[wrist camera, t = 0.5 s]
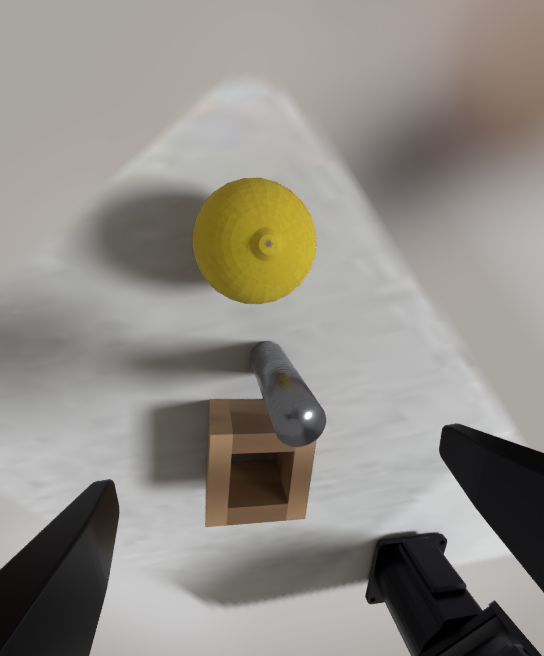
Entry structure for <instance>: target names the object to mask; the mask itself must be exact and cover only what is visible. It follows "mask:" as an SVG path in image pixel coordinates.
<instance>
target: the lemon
mask: <svg viewBox="0 0 544 656" xmlns="http://www.w3.org/2000/svg"><path fill="white" fill-rule="evenodd" d="M192 239H193V252H194V256H195V259H196V262H197V265H198V268H199V269H200V271H201V273H202V274H203V276H204V278H205V279H206V281H207V282H208V283H209V284H210V285H211V286H212V287H213V288H214V289H215V290H216V291H218V292H219V293H221V294H223V295H224V296H226V297H228V298H229V299H232V300H235V301H238V302H242V303H245V304H263V303H268V302H273V301H276V300H278V299H280V298H282V297H284V296H286V295H288V294H290V293H291V292H292V291H293V290H294V289H295V288H297V287H298V286H299V285H300V284H301V282H302V281H303V280H304V278H305V277H306V275H307V274H308V272H309V270H310V268H311V265H312V263H313V260H314V256H315V250H316V234H315V228H314V224H313V221H312V218H311V215H310V213H309V212H308V210H307V208H306V207H305V205H304V203H303V202H302V201H301V200H300V199H299V198H298V197H297V196H296V195H295V194H294V193H293V192H292V191H291V190H289V189H288V188H286V187H284V186H282V185H281V184H279V183H277V182H274V181H270V180H267V179H263V178H243V179H240V180H236V181H233V182H230V183H227V184H226V185H224V186H223V187H221V188H219V189H218V190H216V191H215V192H213V194H212V195H211V196H210V197H209V198H208V199H207V200H206V201H205V203H204V204H203V205H202V207H201V209H200V211H199V213H198V215H197V217H196V220H195V225H194V229H193V234H192Z"/></svg>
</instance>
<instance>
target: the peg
mask: <svg viewBox="0 0 544 656" xmlns="http://www.w3.org/2000/svg"><path fill="white" fill-rule="evenodd" d="M250 361H251V365H252V367H253V370H254V373H255V376H256V379H257V382H258V385H259V387H260V390H261V393H262V396H263V399H264V402H265V405H266V407H267V410H268V413H269V416H270V419H271V422H272V425H273V427H274V430H275V433H276V435H277V437H278V439H279V440H280V441H281V442H282V443H284V444H285V445H288V446H291V447H302V446H306V445H309V444H311V443H312V442H314V441H315V440H316V439H318V438H319V436H320V435H321V434H322V432H323V430H324V428H325V424H326V416H325V412H324V410H323V409H322V407H321V406H320V404H319V403H318V401H317V400H316V398H315V397H314V395H313V394H312V392H311V391H310V390H309V388H308V387H307V385H306V384H305V382H304V381H303V379H302V378H301V376H300V375H299V373H298V372H297V370H296V369H295V368H294V366H293V365H292V363H291V362H290V360H289V359H288V357H287V356H286V354H285V353H284V351H283V350H282V349H281V347H280V346H279V345H278V344H276V343H274V342H271V341H265V342H261V343H259V344H258V345H256V346H255V347H254V348H253V350H252V352H251V355H250Z"/></svg>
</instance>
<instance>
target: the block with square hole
mask: <svg viewBox="0 0 544 656" xmlns="http://www.w3.org/2000/svg"><path fill="white" fill-rule="evenodd" d="M316 440H317V439H316ZM316 440H315V441H314V442H312V443H311V444H309V445H306V446H302V447H291V446H288V445H285V444H284V443H282V442H281V441H280V440H279V439H278V437H277V435H276V433H275V430H274V427H273V425H272V422H271V419H270V416H269V413H268V410H267V407H266V405H265V402H264V400H210V409H209V429H208V448H207V467H206V520H205V527H213V526H225V525H237V524H250V523H262V522H274V521H286V520H298V519H305V516H306V509H307V502H308V495H309V488H310V481H311V474H312V467H313V460H314V453H315V447H316ZM266 452H276V456H275V461H255V462H232V463H231V455H232V454H239V453H266Z"/></svg>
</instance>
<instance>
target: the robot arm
mask: <svg viewBox="0 0 544 656" xmlns="http://www.w3.org/2000/svg"><path fill="white" fill-rule="evenodd" d="M439 452H440V456H441V458H442V459H443V461H444V462H445V464H446V465H447V467H448V468H449V470H450V471H451V473H452V474H453V476H454V477H455V479H456V480H457V481H458V483H459V484H460V486H461V487H462V489H463V490H464V492H465V493H466V495H467V496H468V498H469V499H470V501H471V502H472V503H473V505H474V506H475V508H476V509H477V510H478V511H479V513H480V514H481V515H482V517H483V518H484V519H485V520H486V522H487V523H488V524H489V525H490V527H491V528H492V529H493V530H494V531H495V533H496V534H497V535H498V536H499V538H500V539H501V540H502V541H503V543H504V544H505V545H506V546H507V548H508V549H509V550H510V551H511V553H512V554H513V555H514V556H515V558H516V559H517V560H518V561H519V562H520V564H521V565H522V566H523V568H524V569H525V570H526V571H527V572H528V574H529V575H530V576H531V577H532V579H533V580H534V581H535V582H536V583H537V585H538V586H539V587H540V589H541V590H542V591H543V592H544V453H542V452H539V451H536V450H533V449H530V448H528V447H525V446H522V445H519V444H516V443H513V442H510V441H507V440H504V439H502V438H499V437H496V436H493V435H490V434H487V433H484V432H481V431H478V430H476V429H473V428H470V427H467V426H464V425H461V424H450V425H445V426H444V427H443V428H442V433H441V439H440V446H439ZM118 520H119V503H118V498H117V494H116V489H115V484H114V482H113V480H111V479H108V480H102V481H96V482H94V483H92V484H91V485H90V486H89V487H88V488H87V489H86V490H84V491H83V492H82V493H81V494H80V495H79V496H78V497H77V498H76V499H75V500H74V501H73V502H72V503H71V504H70V505H68V506H67V507H66V508H65V509H64V510H63V511H62V512H61V513H60V514H59V515H58V516H57V517H56V518H55V519H54V520H53V521H51V522H50V523H49V524H48V525H47V526H46V527H45V528H44V529H43V530H42V531H41V532H40V533H39V534H38V535H37V536H36V537H34V538H33V540H31V541H30V542H29V543H28V544H27V545H26V546H25V547H24V548H23V549H22V550H21V551H20V552H18V554H17V555H16V556H14V557H13V558H12V559H11V560H10V561H9V562H8V563H7V564H6V565H5V566H4V567H3V568H1V569H0V656H89V654H90V650H91V647H92V643H93V639H94V636H95V632H96V628H97V624H98V621H99V617H100V613H101V610H102V606H103V602H104V598H105V594H106V590H107V585H108V580H109V575H110V568H111V562H112V556H113V550H114V544H115V538H116V532H117V526H118ZM446 544H447V539H446V538H445V537H444V535H442V534H435V535H426V536H416V537H406V538H396V539H386V540H381V541H379V542H378V543H377V545H376V549H375V554H374V558H373V563H372V568H371V572H370V577H369V582H368V586H367V591H366V596H365V597H366V600H367V602H368V603H369V604H376V603H383V602H385V603H386V605H387V608H388V609H389V612H390V613H391V616H392V618H393V619H394V622H395V624H396V626H397V628H398V630H399V632H400V634H401V636H402V638H403V640H404V642H405V644H406V646H407V648H408V650H409V652H410V654H411V656H541V654H540V653H539V652H538V651H537V650H536V648H535V647H534V646H533V645H532V644H531V642H530V641H529V640H528V639H527V638H526V637H525V635H524V634H523V633H522V632H521V631H520V630H519V629H518V627H517V626H516V625H515V624H514V622H513V621H512V620H511V619H510V618H509V617H508V615H507V614H506V613H505V612H504V611H503V610H502V608H501V607H500V606H499V605H498V604H497V602H496V601H495V600H494V601H493V602H491V603H490V604H489V607H487V608H486V609H484V610H482V609H481V608H480V606H479V605H478V604H477V602H476V601H475V600H474V598H473V597H472V596H471V594H470V593H469V592H468V590H467V589H466V584H465V583H464V581H463V580H462V579H461V577H460V576H459V575H458V574H457V572H456V571H455V569H454V568H453V567H452V565H451V564H450V563H449V561H448V560H447V559H446V557H445V556H444V551H445V548H446Z"/></svg>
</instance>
